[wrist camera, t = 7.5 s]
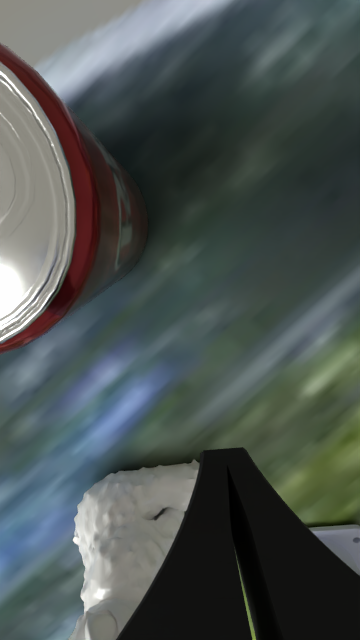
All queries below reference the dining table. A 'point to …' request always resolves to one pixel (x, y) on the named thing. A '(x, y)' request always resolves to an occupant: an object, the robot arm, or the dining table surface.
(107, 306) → the dining table surface
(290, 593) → the robot arm
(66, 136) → the soda can
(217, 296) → the dining table surface
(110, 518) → the sitting furry creature
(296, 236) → the dining table surface
